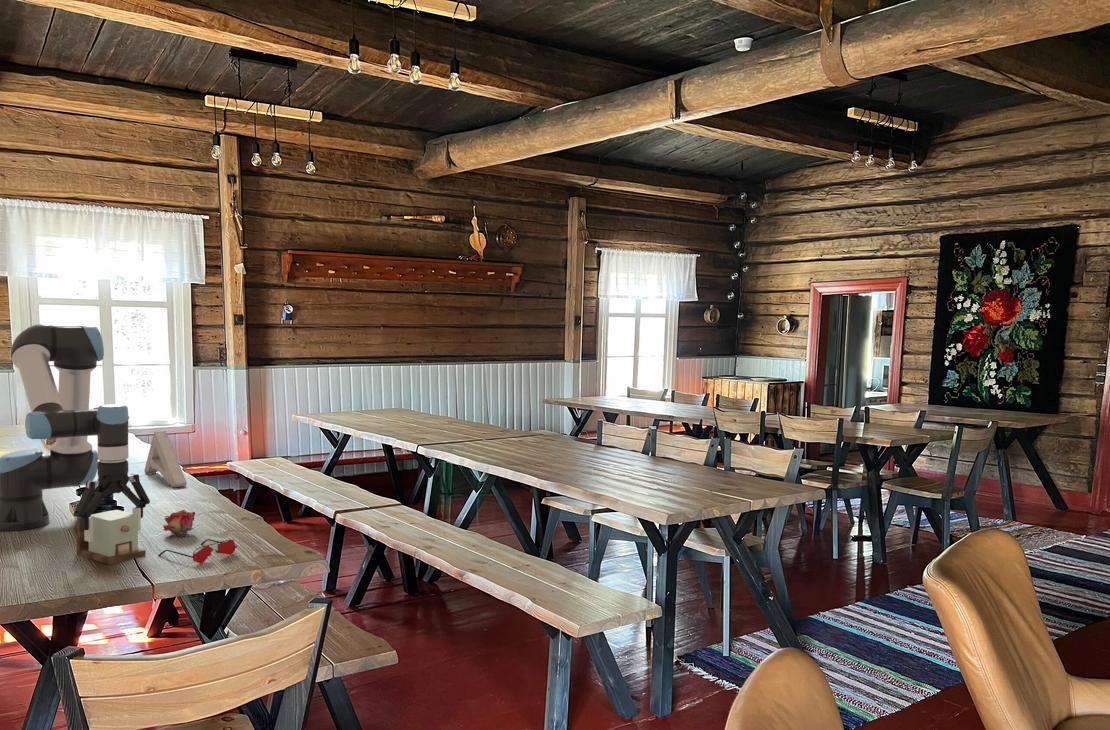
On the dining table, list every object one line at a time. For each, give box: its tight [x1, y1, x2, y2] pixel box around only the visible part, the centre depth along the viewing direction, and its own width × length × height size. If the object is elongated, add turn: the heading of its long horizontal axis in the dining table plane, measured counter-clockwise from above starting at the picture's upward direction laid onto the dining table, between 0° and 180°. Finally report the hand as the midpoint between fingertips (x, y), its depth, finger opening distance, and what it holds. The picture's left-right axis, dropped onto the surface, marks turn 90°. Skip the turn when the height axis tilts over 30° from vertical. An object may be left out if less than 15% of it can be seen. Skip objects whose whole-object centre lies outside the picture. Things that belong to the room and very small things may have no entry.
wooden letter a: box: [143, 431, 188, 488], centre depth 316 cm, size 22×4×30 cm
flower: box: [162, 509, 199, 538], centre depth 239 cm, size 10×9×8 cm
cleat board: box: [76, 510, 146, 565], centre depth 218 cm, size 16×10×10 cm, turn 60°
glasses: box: [157, 538, 238, 564], centre depth 221 cm, size 14×16×5 cm
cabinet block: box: [89, 509, 139, 557], centre depth 217 cm, size 11×8×10 cm
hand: (113, 535), depth 218 cm, fingers open, 13 cm apart
